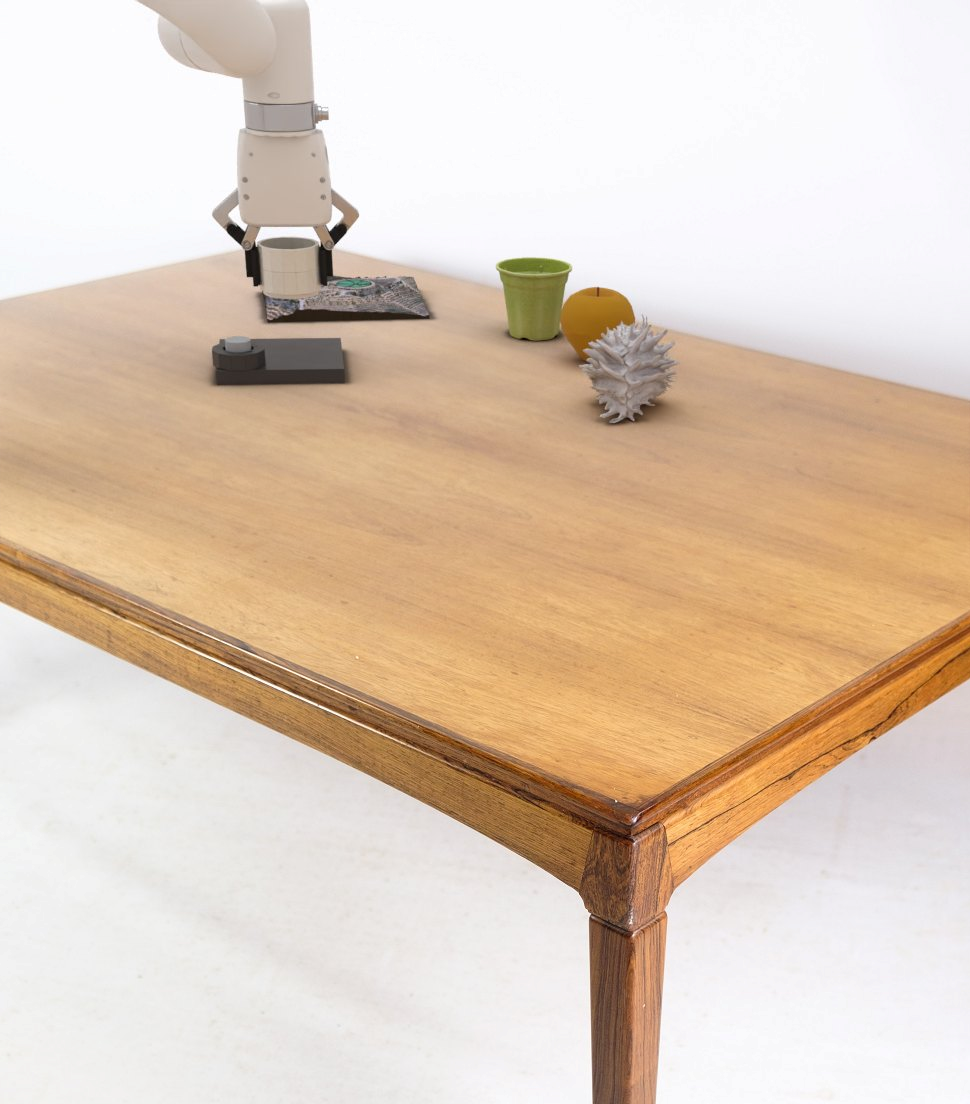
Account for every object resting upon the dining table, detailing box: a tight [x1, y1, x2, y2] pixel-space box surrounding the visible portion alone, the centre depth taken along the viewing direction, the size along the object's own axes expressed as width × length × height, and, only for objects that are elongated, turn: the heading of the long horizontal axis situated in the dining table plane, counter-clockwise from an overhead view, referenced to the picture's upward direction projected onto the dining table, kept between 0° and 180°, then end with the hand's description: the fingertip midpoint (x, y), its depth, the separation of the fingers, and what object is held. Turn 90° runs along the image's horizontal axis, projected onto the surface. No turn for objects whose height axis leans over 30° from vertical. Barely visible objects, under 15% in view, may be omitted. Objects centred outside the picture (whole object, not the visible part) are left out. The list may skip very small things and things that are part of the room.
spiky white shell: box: [578, 314, 681, 424], centre depth 177 cm, size 12×11×12 cm
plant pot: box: [495, 256, 573, 342], centre depth 202 cm, size 9×9×9 cm
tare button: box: [224, 335, 252, 352], centre depth 181 cm, size 3×3×1 cm
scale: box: [211, 337, 346, 386], centre depth 186 cm, size 14×13×4 cm
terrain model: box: [261, 275, 430, 324], centre depth 212 cm, size 20×15×3 cm
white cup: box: [256, 236, 321, 299], centre depth 184 cm, size 7×7×6 cm
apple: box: [560, 286, 636, 364], centre depth 193 cm, size 9×9×9 cm
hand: (290, 282), depth 185 cm, fingers closed on white cup, 6 cm apart
